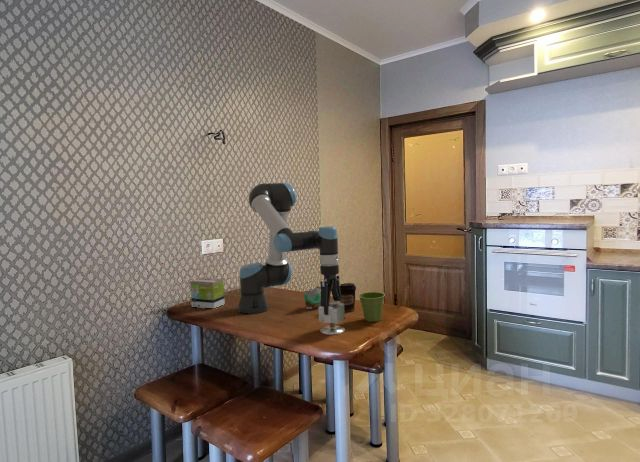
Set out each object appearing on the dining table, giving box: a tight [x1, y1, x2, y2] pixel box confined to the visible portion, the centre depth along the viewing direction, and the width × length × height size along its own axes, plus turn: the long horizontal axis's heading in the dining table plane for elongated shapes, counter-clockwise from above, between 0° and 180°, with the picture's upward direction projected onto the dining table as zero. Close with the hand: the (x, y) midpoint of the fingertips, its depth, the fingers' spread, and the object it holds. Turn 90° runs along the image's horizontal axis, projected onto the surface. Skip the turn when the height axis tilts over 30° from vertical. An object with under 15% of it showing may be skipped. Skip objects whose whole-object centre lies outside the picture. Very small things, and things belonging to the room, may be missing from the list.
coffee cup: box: [340, 282, 357, 313], centre depth 188 cm, size 9×8×13 cm
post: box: [319, 304, 346, 336], centre depth 159 cm, size 10×10×11 cm
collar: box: [317, 302, 346, 324], centre depth 159 cm, size 8×8×6 cm
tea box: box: [189, 277, 226, 309], centre depth 209 cm, size 15×10×15 cm
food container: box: [303, 285, 321, 311], centre depth 195 cm, size 12×6×10 cm, turn 148°
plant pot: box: [357, 291, 386, 323], centre depth 171 cm, size 12×12×11 cm
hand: (332, 319), depth 159 cm, fingers closed on collar, 8 cm apart
